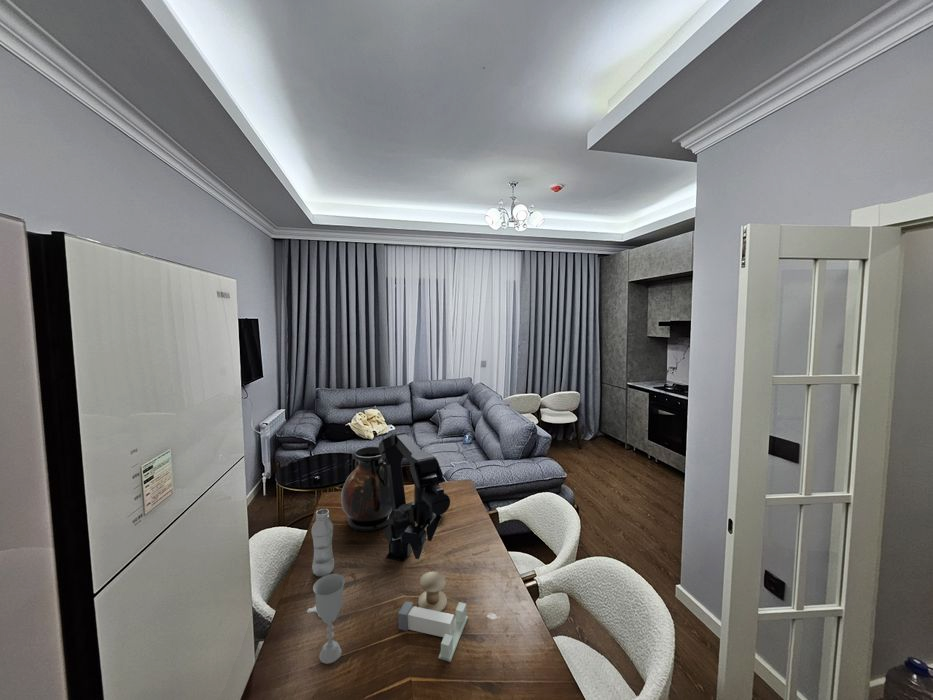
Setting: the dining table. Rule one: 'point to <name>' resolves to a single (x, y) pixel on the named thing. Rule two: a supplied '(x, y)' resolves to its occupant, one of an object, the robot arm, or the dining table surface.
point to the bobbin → (432, 592)
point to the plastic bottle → (322, 544)
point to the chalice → (329, 611)
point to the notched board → (454, 634)
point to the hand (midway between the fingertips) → (423, 549)
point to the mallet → (425, 620)
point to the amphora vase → (367, 491)
